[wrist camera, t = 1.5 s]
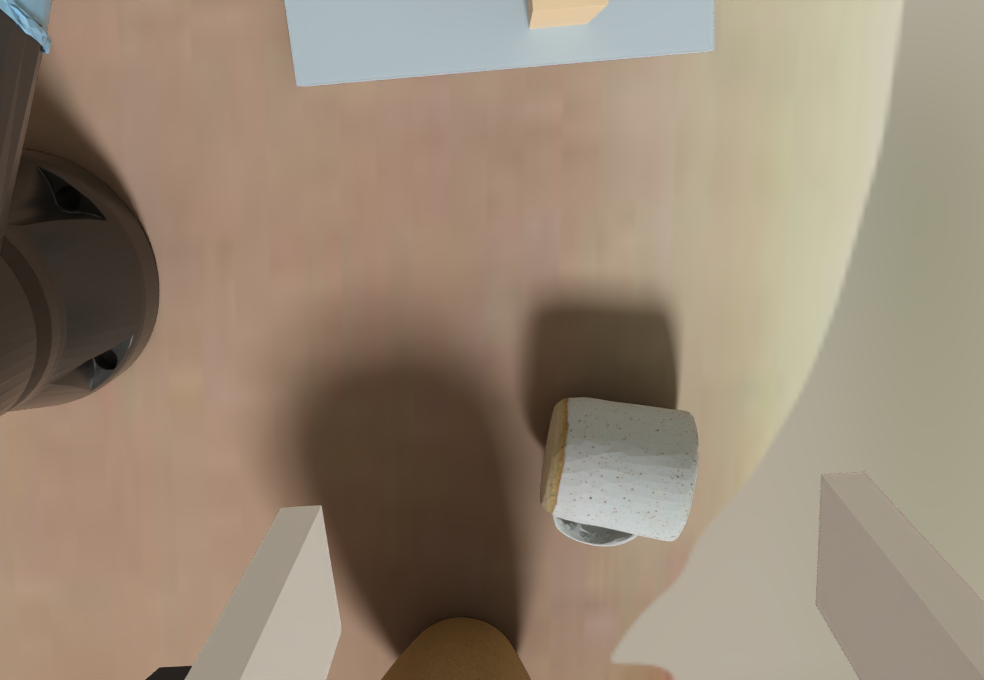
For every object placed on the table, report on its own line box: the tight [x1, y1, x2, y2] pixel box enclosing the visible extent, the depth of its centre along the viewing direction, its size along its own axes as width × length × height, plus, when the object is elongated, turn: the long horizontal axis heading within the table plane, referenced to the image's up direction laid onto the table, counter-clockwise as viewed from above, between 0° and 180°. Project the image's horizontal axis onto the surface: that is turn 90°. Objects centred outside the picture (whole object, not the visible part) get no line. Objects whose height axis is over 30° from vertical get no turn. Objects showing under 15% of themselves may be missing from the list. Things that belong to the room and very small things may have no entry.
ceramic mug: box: [540, 397, 699, 546], centre depth 47 cm, size 11×8×8 cm
